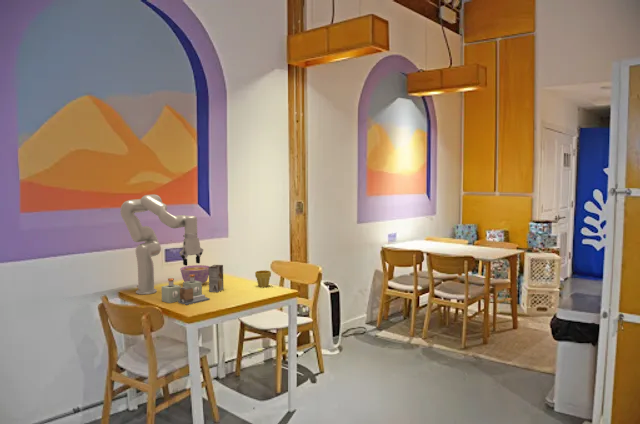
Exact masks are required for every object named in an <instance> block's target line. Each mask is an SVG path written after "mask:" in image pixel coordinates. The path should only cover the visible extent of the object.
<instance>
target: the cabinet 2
mask: <svg viewBox="0 0 640 424" xmlns="http://www.w3.org/2000/svg"><path fill="white" fill-rule="evenodd" d="M182 287H191V288H193V297H194V296H199V295H203V288H202V287H203V284H202V282H200V281H195V282H194V283H190V281H187V282H184V281H183V282H182Z"/></svg>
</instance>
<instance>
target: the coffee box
mask: <svg viewBox="0 0 640 424" xmlns="http://www.w3.org/2000/svg"><path fill="white" fill-rule="evenodd" d="M222 290H224V265H223V264H213V265H211V266H210V267H209V276H208V291H209V293H219V292H220V291H222Z"/></svg>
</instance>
